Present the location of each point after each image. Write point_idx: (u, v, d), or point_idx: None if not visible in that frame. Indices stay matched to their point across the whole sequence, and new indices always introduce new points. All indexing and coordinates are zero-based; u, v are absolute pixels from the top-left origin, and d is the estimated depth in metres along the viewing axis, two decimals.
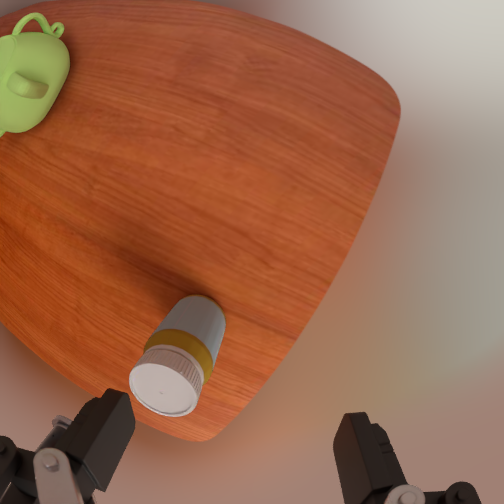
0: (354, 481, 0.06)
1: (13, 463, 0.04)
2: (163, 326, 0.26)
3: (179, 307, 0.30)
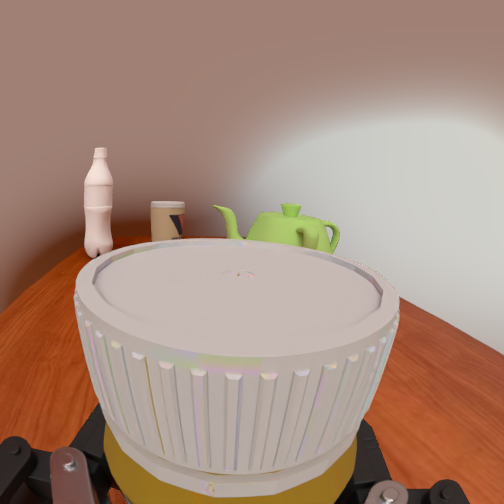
0: None
1: (27, 464, 0.04)
2: None
3: None
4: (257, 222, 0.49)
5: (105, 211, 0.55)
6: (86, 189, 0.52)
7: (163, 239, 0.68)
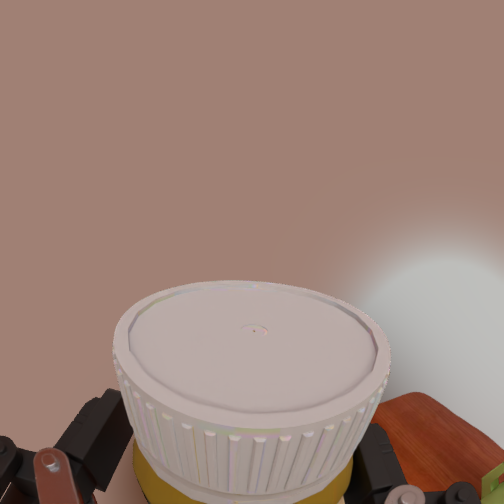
0: (354, 481, 0.06)
1: (13, 463, 0.04)
2: None
3: None
4: None
5: None
6: None
7: None
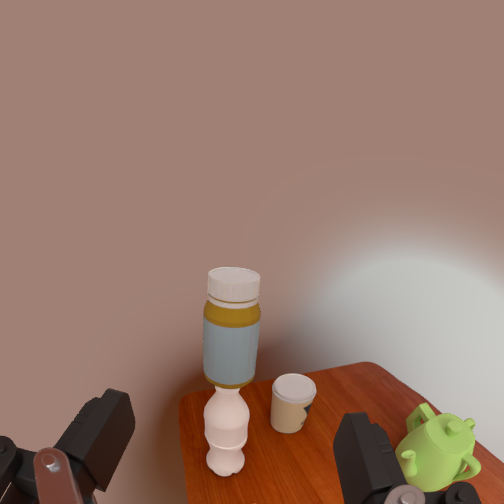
0: (353, 480, 0.06)
1: (13, 463, 0.04)
2: None
3: None
4: (429, 450, 0.32)
5: (244, 444, 0.38)
6: (216, 430, 0.35)
7: (291, 426, 0.51)
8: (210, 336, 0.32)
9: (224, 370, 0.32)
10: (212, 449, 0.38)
